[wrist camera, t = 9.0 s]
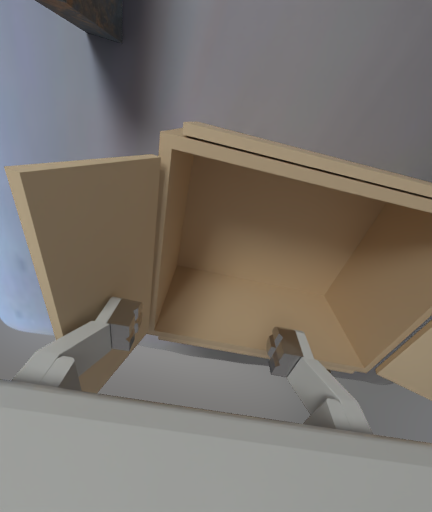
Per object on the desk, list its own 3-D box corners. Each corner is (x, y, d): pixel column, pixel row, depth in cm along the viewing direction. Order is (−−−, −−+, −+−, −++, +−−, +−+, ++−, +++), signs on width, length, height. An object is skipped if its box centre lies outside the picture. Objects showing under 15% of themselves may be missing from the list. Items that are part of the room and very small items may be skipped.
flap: (151, 154, 10) (3, 166, 5) (160, 157, 10) (19, 172, 5) (142, 328, 17) (76, 405, 12) (148, 331, 17) (82, 410, 12)
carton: (192, 118, 18) (161, 116, 10) (407, 174, 20) (543, 215, 11) (172, 269, 27) (146, 338, 18) (321, 300, 28) (362, 377, 20)
